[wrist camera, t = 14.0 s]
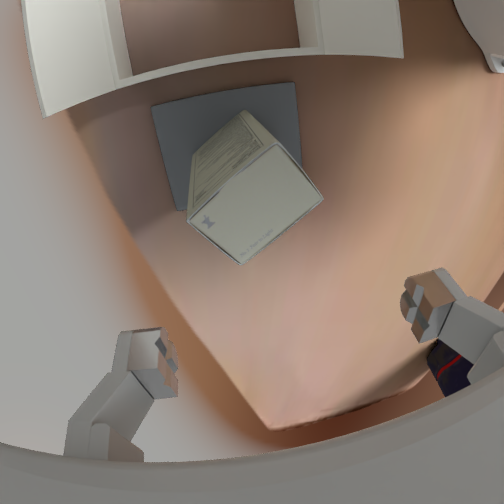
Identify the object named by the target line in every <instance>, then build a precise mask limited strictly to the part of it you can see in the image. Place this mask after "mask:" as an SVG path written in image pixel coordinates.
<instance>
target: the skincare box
mask: <svg viewBox="0 0 504 504" xmlns="http://www.w3.org/2000/svg"><path fill="white" fill-rule="evenodd" d="M323 199H324V198H323V196H322V195H321V193H320V192H319V191H318V189H317V188H316V187H315V185H314V184H313V182H312V181H311V180H310V178H309V177H308V176H307V174H306V173H305V172H304V171H303V169H302V168H301V167H300V166H299V164H298V163H297V162H296V161H295V160H294V158H293V157H292V156H291V155H290V154H289V152H288V151H287V150H286V149H285V148H284V147H283V146H282V144H281V143H280V142H279V141H278V140H277V139H276V138H275V137H274V136H272V135H271V134H270V133H269V131H268V130H266V129H265V128H264V127H263V126H262V125H261V124H260V123H259V122H258V121H257V120H256V119H255V118H254V117H253V116H252V115H251V114H250V113H249V112H248V111H247V110H243V111H242V112H240V113H239V114H238V115H237V116H235V117H234V118H233V119H232V120H230V121H229V122H228V123H227V124H226V125H225V126H223V127H222V128H221V129H220V130H219V131H218V132H217V133H215V134H214V135H213V136H212V137H211V138H210V139H209V140H208V141H207V142H206V143H204V144H203V145H202V146H201V147H200V148H199V149H198V150H197V151H196V152H195V153H194V154H193V156H192V164H191V173H190V183H189V193H188V206H187V217H186V222H187V223H188V224H190V225H191V226H192V227H193V228H194V229H195V230H196V231H198V232H199V233H200V234H201V235H202V236H203V237H205V238H206V239H207V240H208V241H209V242H211V243H212V244H213V245H214V246H216V247H217V248H218V249H219V250H220V251H222V252H223V253H224V254H225V255H227V256H228V257H229V258H231V259H232V260H233V261H235V262H236V263H237V264H238V265H243V264H245V263H246V262H247V261H249V260H250V259H251V258H253V257H254V256H255V255H257V254H258V253H259V252H261V251H262V250H263V249H264V248H266V247H267V246H268V245H269V244H271V243H272V242H273V241H275V240H276V239H277V238H278V237H280V236H281V235H282V234H283V233H284V232H286V231H287V230H288V229H289V228H290V227H292V226H293V225H294V224H295V223H297V222H298V221H299V220H300V219H302V218H303V217H304V216H305V215H306V214H307V213H309V212H310V211H311V210H312V209H314V208H315V207H316V206H317V205H318V204H319V203H321V202H322V201H323Z"/></svg>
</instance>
